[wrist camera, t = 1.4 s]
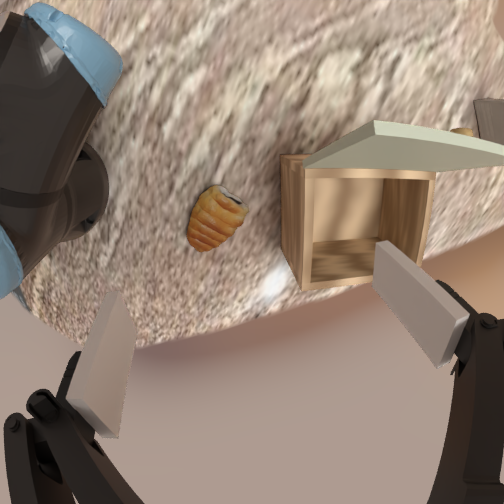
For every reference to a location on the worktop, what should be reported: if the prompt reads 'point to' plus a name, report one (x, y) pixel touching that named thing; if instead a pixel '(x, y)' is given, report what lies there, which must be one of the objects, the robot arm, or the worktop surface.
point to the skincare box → (490, 119)
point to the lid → (407, 149)
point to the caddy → (349, 219)
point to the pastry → (215, 218)
